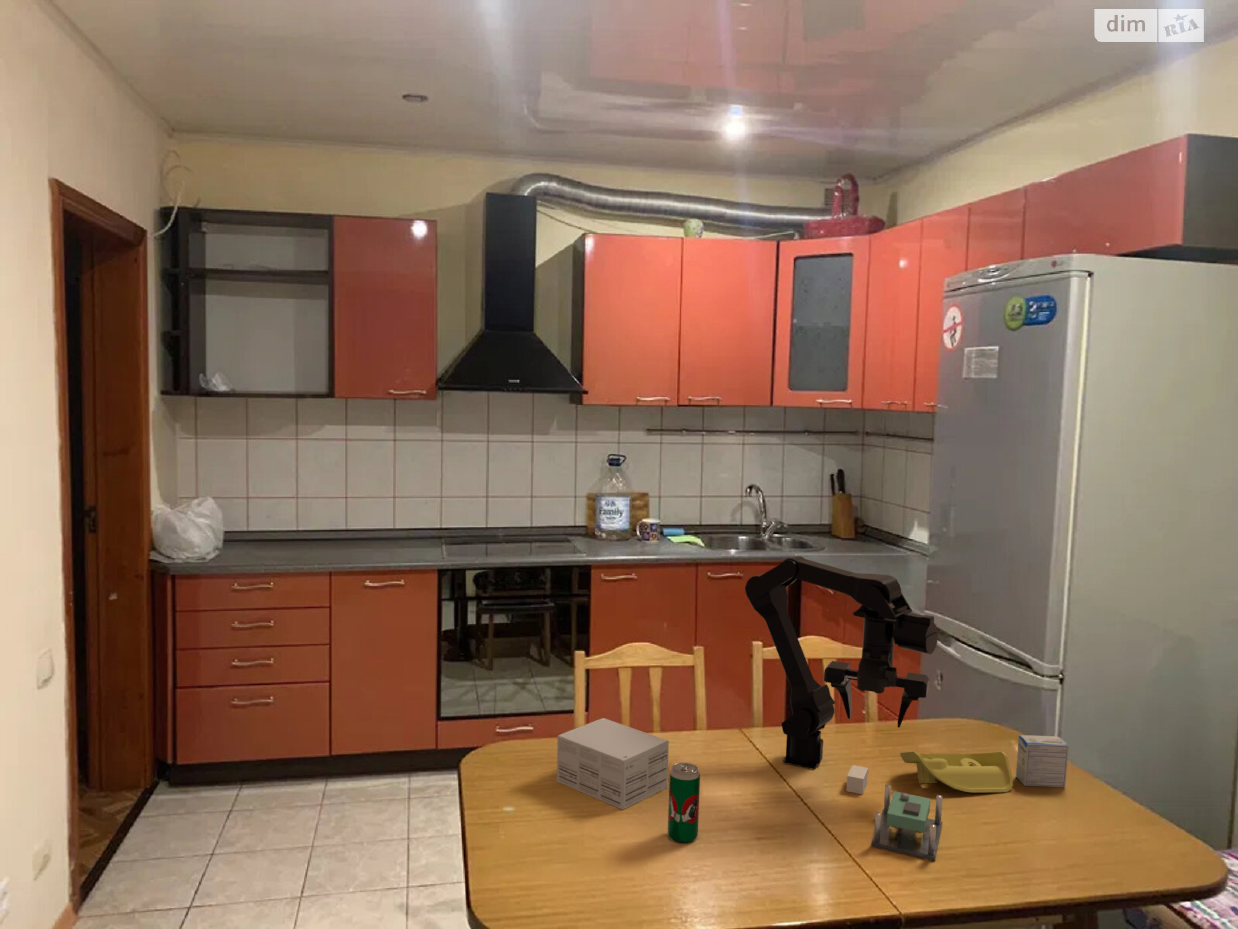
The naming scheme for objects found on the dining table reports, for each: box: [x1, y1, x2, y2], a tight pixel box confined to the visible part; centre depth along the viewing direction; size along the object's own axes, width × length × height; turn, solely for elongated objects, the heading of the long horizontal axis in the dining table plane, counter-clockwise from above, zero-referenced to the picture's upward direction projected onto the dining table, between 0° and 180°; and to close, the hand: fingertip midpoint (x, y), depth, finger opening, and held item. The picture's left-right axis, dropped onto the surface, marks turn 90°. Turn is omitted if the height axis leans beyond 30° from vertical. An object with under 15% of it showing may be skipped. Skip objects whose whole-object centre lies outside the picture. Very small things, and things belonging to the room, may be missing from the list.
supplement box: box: [556, 717, 670, 810], centre depth 170 cm, size 17×13×9 cm
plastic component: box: [899, 751, 1014, 793], centre depth 175 cm, size 20×7×10 cm
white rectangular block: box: [845, 764, 869, 795], centre depth 172 cm, size 3×5×3 cm, turn 156°
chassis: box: [871, 784, 943, 862], centre depth 154 cm, size 10×13×6 cm
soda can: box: [667, 762, 701, 844], centre depth 151 cm, size 5×5×12 cm
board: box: [887, 791, 931, 833], centre depth 153 cm, size 6×9×3 cm, turn 156°
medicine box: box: [1015, 734, 1070, 788], centre depth 176 cm, size 8×4×9 cm, turn 88°
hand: (873, 722), depth 173 cm, fingers open, 9 cm apart
